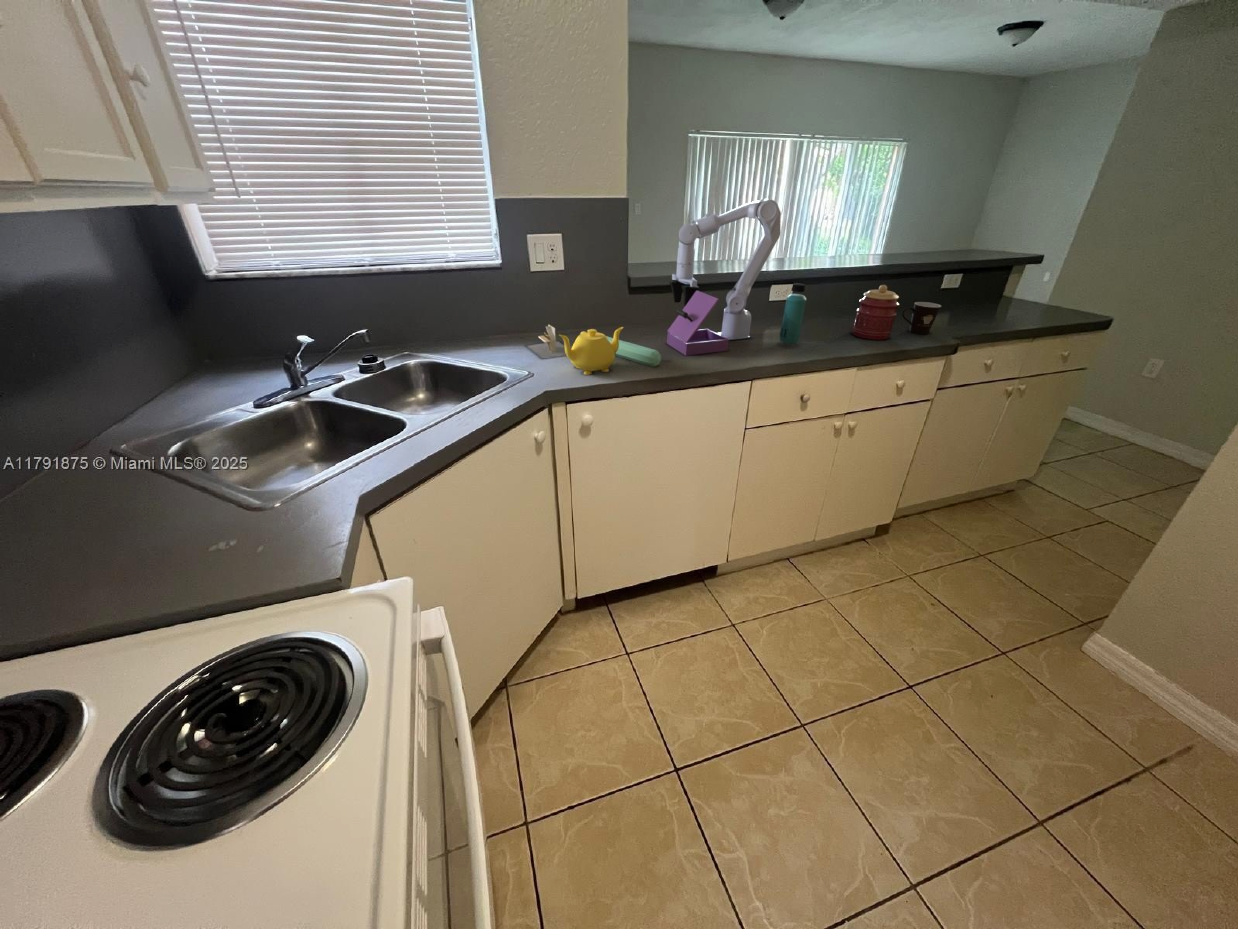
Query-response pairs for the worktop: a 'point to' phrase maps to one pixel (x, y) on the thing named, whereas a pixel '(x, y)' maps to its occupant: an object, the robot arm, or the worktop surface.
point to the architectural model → (548, 345)
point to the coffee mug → (922, 317)
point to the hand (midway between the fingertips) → (682, 304)
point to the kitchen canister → (876, 314)
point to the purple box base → (699, 343)
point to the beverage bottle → (793, 315)
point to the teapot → (592, 350)
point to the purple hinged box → (692, 315)
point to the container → (637, 353)
